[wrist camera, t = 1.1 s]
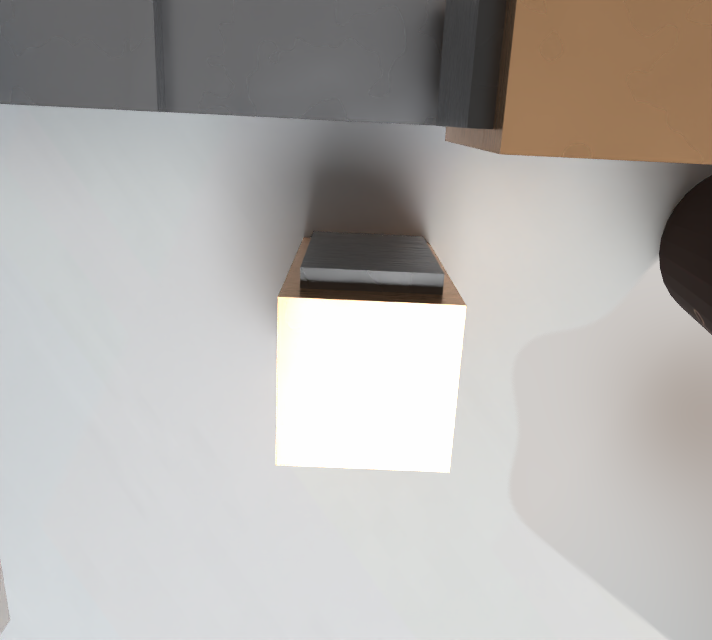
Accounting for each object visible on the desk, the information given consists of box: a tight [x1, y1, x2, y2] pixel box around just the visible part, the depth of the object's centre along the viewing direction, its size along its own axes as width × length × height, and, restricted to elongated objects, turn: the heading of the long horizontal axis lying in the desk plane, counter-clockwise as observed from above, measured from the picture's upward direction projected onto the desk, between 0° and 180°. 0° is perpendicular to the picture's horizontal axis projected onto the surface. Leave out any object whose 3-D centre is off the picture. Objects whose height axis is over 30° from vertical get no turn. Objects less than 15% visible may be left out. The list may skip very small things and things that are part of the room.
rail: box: [0, 0, 712, 165], centre depth 19 cm, size 24×5×11 cm, turn 87°
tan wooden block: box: [276, 231, 466, 472], centre depth 22 cm, size 6×5×9 cm
